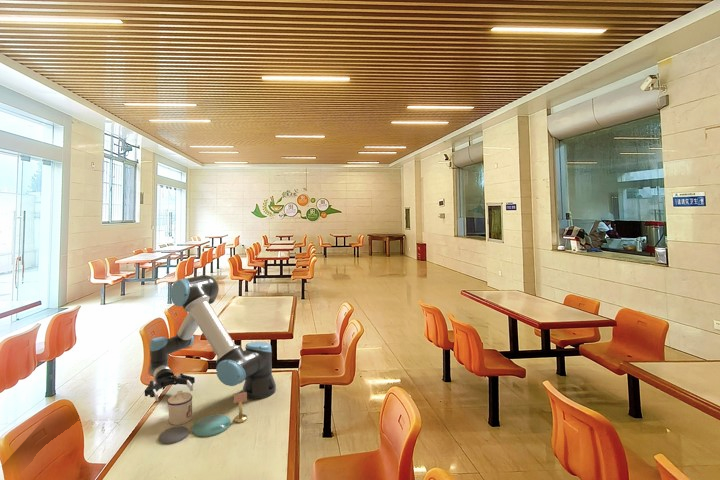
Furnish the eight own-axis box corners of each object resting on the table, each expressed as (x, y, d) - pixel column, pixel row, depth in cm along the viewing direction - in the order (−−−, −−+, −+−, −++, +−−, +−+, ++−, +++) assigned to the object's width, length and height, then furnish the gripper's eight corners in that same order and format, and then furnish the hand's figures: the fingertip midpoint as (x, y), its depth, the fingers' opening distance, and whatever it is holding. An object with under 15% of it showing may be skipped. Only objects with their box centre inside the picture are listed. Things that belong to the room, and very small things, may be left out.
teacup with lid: (191, 423, 145) (190, 395, 145) (166, 427, 142) (165, 398, 142) (195, 408, 157) (194, 382, 156) (171, 411, 154) (170, 385, 153)
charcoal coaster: (190, 426, 143) (190, 424, 143) (187, 440, 134) (187, 438, 134) (161, 431, 140) (161, 429, 140) (156, 446, 131) (156, 444, 131)
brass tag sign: (247, 415, 151) (246, 389, 150) (247, 421, 146) (247, 394, 146) (234, 417, 149) (233, 391, 149) (234, 424, 145) (233, 396, 144)
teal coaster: (230, 413, 152) (230, 411, 152) (230, 432, 139) (230, 430, 139) (193, 420, 147) (193, 418, 147) (190, 440, 134) (190, 438, 134)
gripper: (192, 376, 181) (205, 392, 165) (133, 392, 165) (142, 411, 149) (191, 361, 181) (204, 376, 164) (132, 375, 165) (141, 393, 148)
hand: (175, 393), depth 156 cm, fingers open, 13 cm apart
